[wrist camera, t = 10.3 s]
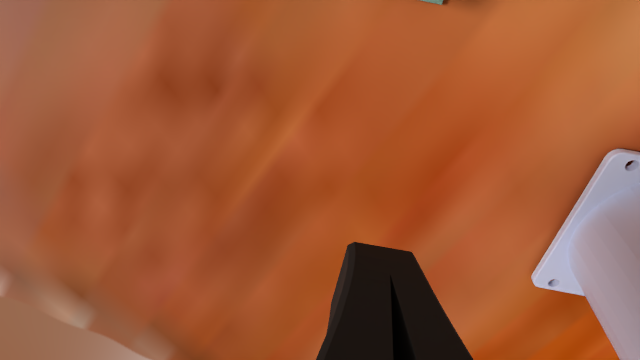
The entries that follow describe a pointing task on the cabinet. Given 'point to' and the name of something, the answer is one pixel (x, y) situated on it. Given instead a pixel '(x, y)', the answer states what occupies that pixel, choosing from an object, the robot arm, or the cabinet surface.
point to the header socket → (434, 1)
